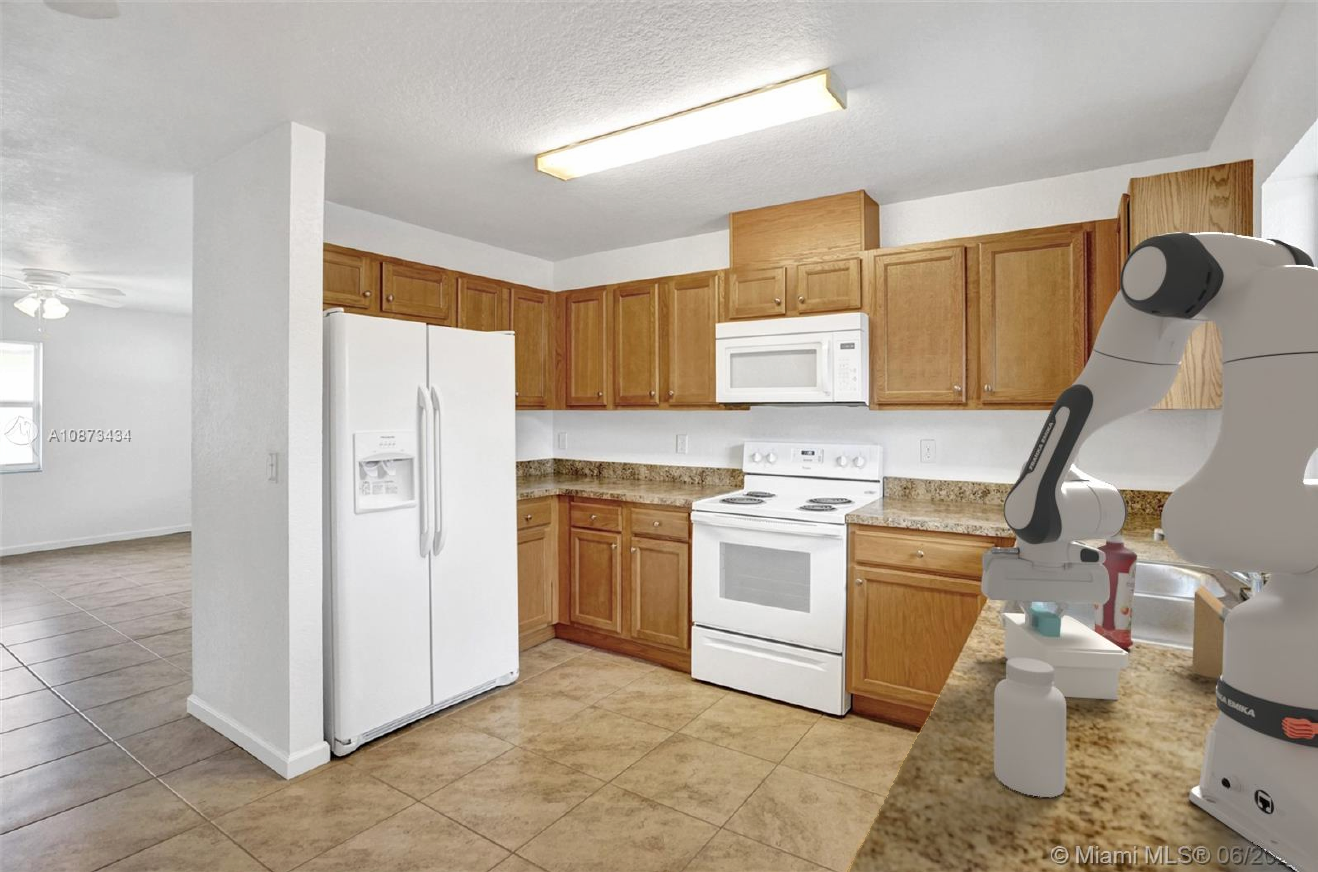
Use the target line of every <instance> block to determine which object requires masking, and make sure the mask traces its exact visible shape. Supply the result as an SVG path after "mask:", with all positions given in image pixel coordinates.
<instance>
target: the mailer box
mask: <svg viewBox="0 0 1318 872" xmlns="http://www.w3.org/2000/svg"><path fill="white" fill-rule="evenodd" d="M1004 658H1005V659H1006V660H1007V661H1008V660H1009V659H1012V658H1029V659H1035V660H1039V661H1042V662H1045V651H1044V650H1043V649H1041V648H1040V647H1039V646H1038V645H1036V644H1035V643H1034V642H1033V641H1032V640H1030V639H1029V638H1028V637H1027V636H1025V635H1024V634H1023V633H1022V632H1020V631H1019V630H1018V629H1017V628H1015V627H1014V626H1013V625H1012V624H1010V623H1009V622H1008V621H1007V620H1006V619H1005V627H1004ZM1052 667H1053V668H1054V687H1055V688H1057V689H1058V690H1059V691H1060V692H1061V693H1062V694H1063V696H1064V698H1065V697H1066V698H1080V699H1095V700H1097V699H1098V700H1117V701H1118V700H1119V678H1120V677H1119V675H1120V674H1119V673H1120V672H1119V671H1120V669H1108V668H1089V667H1069V666H1052Z"/></svg>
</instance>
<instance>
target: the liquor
mask: <svg viewBox="0 0 1318 872" xmlns="http://www.w3.org/2000/svg"><path fill="white" fill-rule="evenodd" d="M1123 529H1124V527H1123V528H1122V530H1121V531H1120V532H1119V533H1118V534H1117V535H1115V536H1113V537H1108V538H1106V541H1105V545H1101V546H1098V547H1095V548H1096V549H1098V550H1101V551H1102V552H1104V553H1105V555H1106V558H1105V562H1104V563H1102V565H1103V566H1105V567H1106V569H1107V571H1108V574H1109V583H1110V598H1109V600H1108V601H1107V602H1106V603H1105V604H1094V632H1096V633H1098V634H1099V635H1101V636H1102V637H1104V638H1105V639H1107V640H1109V641H1110V642H1112V643H1113V644H1115V645H1117V646H1118V647H1120V648H1121V649H1123V650H1124V651H1126V650H1127V649H1129V648H1130V647H1132V646H1133V645H1134V641H1133V640H1132V638H1131V637H1132V621H1133V607H1134V598H1135V596H1134V595H1135V588H1136V576H1137V563H1138V554H1137V553H1135V552H1134V551H1133V550H1132V549H1130V548H1128V547H1125V544H1124V543H1125V541H1124V540H1125V539H1124V531H1123Z"/></svg>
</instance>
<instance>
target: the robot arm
mask: <svg viewBox="0 0 1318 872" xmlns="http://www.w3.org/2000/svg"><path fill="white" fill-rule="evenodd" d="M1119 286H1120V290H1119V291H1118V292H1117V294H1116V295H1115V297H1114V298H1113V300H1112V302H1111V305H1110V306H1109V307H1108V310H1107V312H1106V314H1105V316H1104V318H1103V320H1102V323H1101V325H1100V327H1099V331H1098V333H1097V335H1096V338H1095V342H1094V345H1093V347H1092V350H1091V354H1090V356H1089V358H1088V360H1087V363H1086V365H1085V366H1084V368H1083V369H1082V371H1081V373H1080V374H1079V376H1078V377H1077V378H1076V380H1075V381H1074V382H1073V383H1072V385H1071V386H1070V387H1068V388H1066V389H1065V390H1064V391H1063V392H1062V393H1061V394H1060V395H1059V396H1058V398H1057V399H1056V401H1055V402H1054V404H1053V407H1052V408H1051V410H1050V412H1049V413H1048V416H1047V418H1046V420H1045V422H1044V425H1043V427H1042V428H1041V431H1040V433H1039V435H1038V437H1037V440H1036V442H1035V444H1034V446H1033V448H1032V451H1031V453H1030V454H1029V457H1028V460H1027V461H1025V462H1024V463H1023V464H1022V467H1021V469H1020V474H1019V477H1018V479H1016V482H1015V483H1014V484H1013V486H1012V487H1011V488H1010V489H1009V491H1008V493H1007V496H1006V497H1005V500H1004V504H1003V516H1004V520H1005V522H1006V524H1007V525H1008V527H1009V529H1010V530H1011V532H1012V533H1014V534H1015V535H1016V545H1015V546H1016V547H998V546H994V547H990V548H989V549H986V551H984V552H983V553H982V557H981V567H982V569H983V570H982V575H981V576H982V577H981V583H980V590H981V593H982V594H983V596H984V597H986V598H987V599H988V600H991V601H1005V602H1006V601H1007V602H1018V606H1019V607H1020V609H1021V610H1022V612H1023V614H1025V624H1026V625H1027V626H1038V623H1037V621H1038V617H1037V616H1035V615H1034V614H1031V612H1030V610H1029V609H1028V607H1030V608H1031V607H1032V605H1033V603H1035V602H1036V603H1052V604H1053V603H1054V605H1055V606H1056V608H1055V610H1054V612H1053V614H1054V615H1056V616H1057V617H1059V618H1060V619H1061V618H1063V616H1064V615H1065V616H1066V613H1067V612H1068V611H1069V609H1070V607H1069V605H1070V604H1079V605H1080V604H1081V605H1083V604H1084V605H1095V604H1105V603H1106V602H1107V601H1108V600H1109V598H1110V583H1109V574H1108V571H1107V569H1106V567H1105V566H1103V565H1102V563H1104V562H1105V558H1106V555H1105V553H1104V552H1102V551H1101V550H1098V549H1096V548H1097V547H1094V546H1091V545H1088V544H1085V543H1084V542H1082V541H1085V540H1086V541H1088V540H1103V539H1107V538H1108V537H1113V536H1115V535H1117V534H1118V533H1119V532H1120V531H1121V530H1122V528H1123V529H1124V527H1125V525H1126V523H1127V518H1128V506H1127V502H1126V500H1125V497H1124V496H1123V494H1122V492H1121V491H1120V490H1119V489H1118V488H1117V487H1115V485H1113V484H1112V483H1110V482H1109V483H1108V482H1104V481H1101V480H1099V479H1096V478H1095V477H1092V476H1090V475H1088V474H1087V473H1085V472H1083V471H1081V470H1080V469H1078V468H1077V466H1076V465H1075V463H1074V462H1075V460H1076V458H1077V455H1078V454H1079V451H1080V450H1081V448H1082V446H1083V445H1084V443H1085V442H1086V441H1087V440H1088V439H1089V438H1091V436H1092V435H1094V434H1095V433H1096V432H1098V431H1100V430H1101V429H1103V428H1105V427H1107V426H1109V425H1112V424H1113V423H1117V422H1119V421H1121V420H1124V419H1127V418H1131V417H1134V416H1136V415H1140V414H1142V413H1145V412H1146V411H1148V410H1151V409H1153V408H1154V407H1155V406H1157V405H1158V404H1160V403H1161V402H1163V400H1164V399H1165V398H1166V396H1167V394H1168V393H1169V391H1170V390H1171V388H1172V386H1173V384H1174V382H1175V380H1176V378H1177V375H1178V372H1179V369H1180V365H1181V363H1182V359H1183V357H1184V354H1185V350H1186V346H1187V343H1188V340H1189V339H1190V336H1191V335H1192V333H1193V332H1194V330H1196V329H1197V328H1198V327H1199V326H1201V325H1203V324H1205V323H1208V322H1213V323H1214V324H1215V325H1216V326H1217V327H1218V329H1219V332H1220V337H1221V338H1220V339H1221V375H1222V376H1221V381H1222V383H1221V384H1222V390H1221V391H1222V392H1221V393H1222V397H1221V398H1222V399H1221V400H1222V401H1221V421H1220V427H1219V432H1218V436H1217V439H1216V441H1215V444H1214V446H1213V449H1212V450H1211V452H1210V455H1209V456H1208V458H1207V459H1206V461H1205V462H1204V464H1203V465H1202V466H1201V468H1200V469H1199V470H1198V471H1197V472H1196V473H1195V474H1194V475H1193V476H1192V477H1191V478H1189V480H1188V481H1186V482H1184V483H1183V484H1182V485H1180V486H1178V487H1176V489H1174V491H1172V493H1171V494H1170V495H1169V496H1168V498H1167V499H1166V501H1165V503H1164V505H1163V508H1162V510H1161V511H1162V512H1161V516H1160V517H1161V521H1160V523H1161V529H1162V534H1163V535H1164V536H1163V537H1164V538H1165V540H1166V543H1167V544H1168V546H1169V547H1170V549H1171V550H1172V551H1173V552H1174V553H1175V554H1176V556H1178V557H1179V558H1180V559H1182V560H1183V561H1185V562H1187V563H1189V564H1192V565H1195V566H1196V565H1198V566H1202V567H1205V568H1210V569H1215V570H1221V571H1225V572H1231V573H1245V574H1246V573H1250V574H1251V573H1252V574H1253V573H1255V574H1269V577H1268V579H1267V581H1266V582H1265V583H1264V585H1263V587H1261V588H1260V590H1259V591H1258V592H1257V593H1256V594H1255V595H1253V596H1252V597H1250V598H1248V599H1247V600H1244V601H1243V602H1241V603H1239V604H1237V605H1236V606H1234V607H1232V608H1231V609H1230V612H1229V613H1228V615H1227V617H1226V619H1225V622H1224V639H1223V671H1222V675H1220V676H1219V677H1218V679H1217V685H1216V686H1215V695H1216V703H1215V704H1216V706H1217V709H1218V710H1219V713H1218V716H1217V717H1216V720H1215V721H1214V723H1213V725H1212V726H1211V728H1210V729H1209V730H1208V731H1207V734H1206V736H1205V737H1206V739H1205V743H1204V750H1203V757H1202V764H1201V771H1200V779H1199V784H1198V785H1195V786H1193V788H1192V787H1191V789H1190V791H1189V797H1188V798H1189V800H1190V801H1191V802H1192V803H1193V804H1195V805H1196V806H1198V807H1199V808H1201V809H1202V810H1204V811H1205V812H1207V813H1209V814H1210V815H1211V816H1213V817H1215V819H1217V820H1219V821H1220V822H1221V823H1223V824H1224V825H1226V826H1227V827H1229V828H1230V829H1232V830H1233V831H1235V832H1236V833H1238V834H1239V835H1240V836H1242V837H1244V838H1245V839H1246V840H1248V841H1249V842H1251V843H1252V842H1253V843H1252V844H1254V845H1255V846H1257V845H1258V846H1260V847H1262V848H1263V849H1266V850H1267V851H1270V852H1271V853H1272V854H1273V855H1275V856H1277V857H1279V858H1281V859H1282V860H1285V862H1287V863H1288V864H1289V865H1292V866H1293V867H1295V869H1297V871H1299V872H1318V478H1305V472H1306V468H1307V466H1308V463H1309V460H1310V459H1311V458H1312V455H1313V454H1314V453H1315V451H1316V450H1317V449H1318V268H1317V267H1315V265H1314V262H1313V260H1312V257H1311V256H1310V255H1309V254H1308V253H1307V252H1306V251H1305V250H1304V249H1302V248H1300V247H1299V246H1297V245H1295V244H1292V243H1290V242H1287V241H1283V240H1280V239H1275V238H1257V237H1252V236H1244V235H1236V234H1234V233H1228V232H1226V233H1224V232H1223V233H1222V232H1200V233H1199V232H1197V233H1187V232H1182V231H1179V232H1168V233H1162V234H1159V235H1155V236H1151V237H1148V238H1146V239H1144V240H1142V241H1141V242H1140V243H1138V244H1137V245H1136V246H1135V247H1134V248H1133V249H1132V250H1131V251H1130V252H1129V253H1128V255H1127V257H1126V259H1125V261H1124V263H1123V265H1122V268H1121V272H1120V276H1119ZM1060 627H1061V626H1060ZM1258 846H1257V847H1258ZM1260 847H1259V848H1260ZM1263 849H1262V850H1263Z"/></svg>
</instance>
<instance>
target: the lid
mask: <svg viewBox="0 0 1318 872" xmlns="http://www.w3.org/2000/svg"><path fill="white" fill-rule="evenodd" d="M1028 609H1029V610H1030V612H1031V614H1034V615H1035V616H1037V617H1038V621H1037V623H1038V626H1027V625H1026V624H1025V614H1024V613H1015V612H1014V613H1013V612H1002V613H1000V627H1001V628H1005V619H1006V620H1007V621H1008V622H1009V623H1010V624H1012V625H1013V626H1014V627H1015V628H1017V629H1018V630H1019V631H1020V632H1022V633H1023V634H1024V635H1025V636H1027V637H1028V638H1029V639H1030V640H1032V641H1033V642H1034V643H1035V644H1036V645H1038V646H1039V647H1040V648H1041V649H1043V650H1044V651H1045V663H1047V664H1049V665H1051V666H1069V667H1089V668H1108V669H1119V670H1127V669H1126V668H1129V652H1128V651H1126V650H1123V649H1121V648H1120V647H1118V646H1117V645H1115V644H1113V643H1112V642H1110V641H1109V640H1107V639H1105V638H1104V637H1102V636H1101V635H1099V634H1098V633H1096V632H1095V630H1093V629H1091V628H1090V627H1088V626H1086V625H1085V624H1083V623H1082V622H1081V621H1078V620H1077V619H1075V618H1074V617H1072V616H1070V615H1066V614H1065V615H1064V616H1063V618H1061V619H1060V618H1059V617H1057V616H1056V615H1054V612H1051V611H1050V610H1048V609H1046V608H1045V607H1044V606H1043V605H1040V604H1038V605H1037V604H1032V607H1031V608H1030V607H1028ZM1060 626H1061V627H1060Z"/></svg>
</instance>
